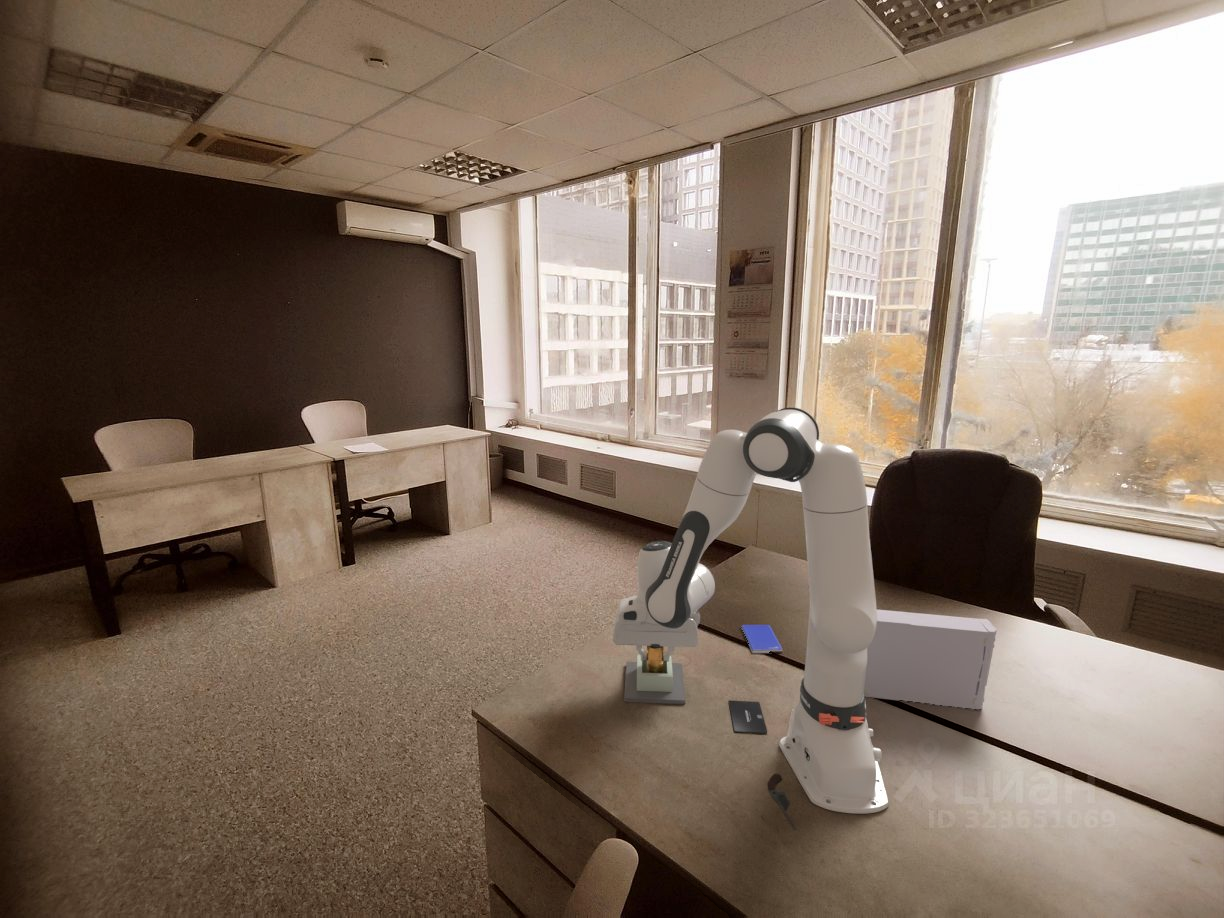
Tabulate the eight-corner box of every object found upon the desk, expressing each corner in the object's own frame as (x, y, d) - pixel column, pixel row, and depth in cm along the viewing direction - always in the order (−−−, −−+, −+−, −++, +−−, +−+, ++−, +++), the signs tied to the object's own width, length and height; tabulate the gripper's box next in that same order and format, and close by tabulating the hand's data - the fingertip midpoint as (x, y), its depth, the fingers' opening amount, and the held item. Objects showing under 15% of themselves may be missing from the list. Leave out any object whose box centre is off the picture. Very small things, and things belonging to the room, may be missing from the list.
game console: (985, 712, 122) (1000, 633, 118) (856, 696, 128) (865, 620, 123) (974, 695, 128) (988, 619, 123) (850, 681, 133) (859, 607, 128)
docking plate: (685, 704, 125) (685, 685, 124) (624, 701, 126) (624, 682, 125) (681, 667, 139) (682, 649, 138) (626, 665, 140) (626, 647, 139)
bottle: (663, 682, 130) (664, 644, 128) (646, 681, 130) (646, 644, 128) (663, 671, 134) (663, 635, 132) (646, 670, 134) (646, 634, 132)
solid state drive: (759, 704, 126) (759, 701, 126) (767, 735, 116) (767, 733, 116) (728, 702, 126) (728, 700, 126) (734, 734, 117) (734, 731, 117)
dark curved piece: (760, 778, 105) (761, 775, 105) (779, 775, 106) (779, 772, 106) (800, 845, 92) (801, 842, 92) (821, 841, 93) (822, 838, 93)
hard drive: (783, 649, 145) (769, 624, 157) (752, 649, 144) (741, 624, 157) (782, 654, 145) (769, 629, 157) (752, 654, 145) (741, 629, 157)
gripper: (699, 602, 130) (697, 653, 133) (613, 599, 131) (613, 650, 135) (701, 615, 124) (699, 669, 127) (611, 613, 125) (612, 666, 129)
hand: (654, 659), depth 131 cm, fingers closed on bottle, 4 cm apart
